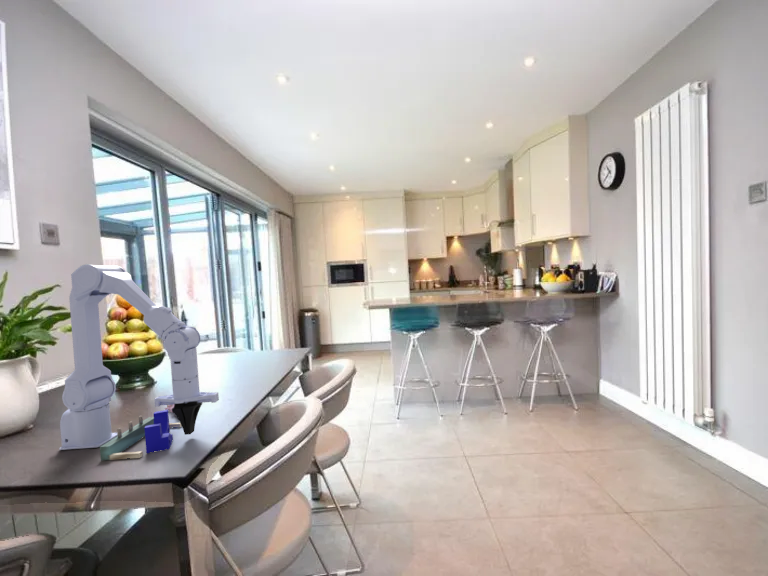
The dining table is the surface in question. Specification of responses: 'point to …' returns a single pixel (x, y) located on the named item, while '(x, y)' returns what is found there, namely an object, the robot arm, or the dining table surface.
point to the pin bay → (127, 440)
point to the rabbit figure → (170, 407)
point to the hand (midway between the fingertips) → (189, 432)
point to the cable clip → (158, 433)
